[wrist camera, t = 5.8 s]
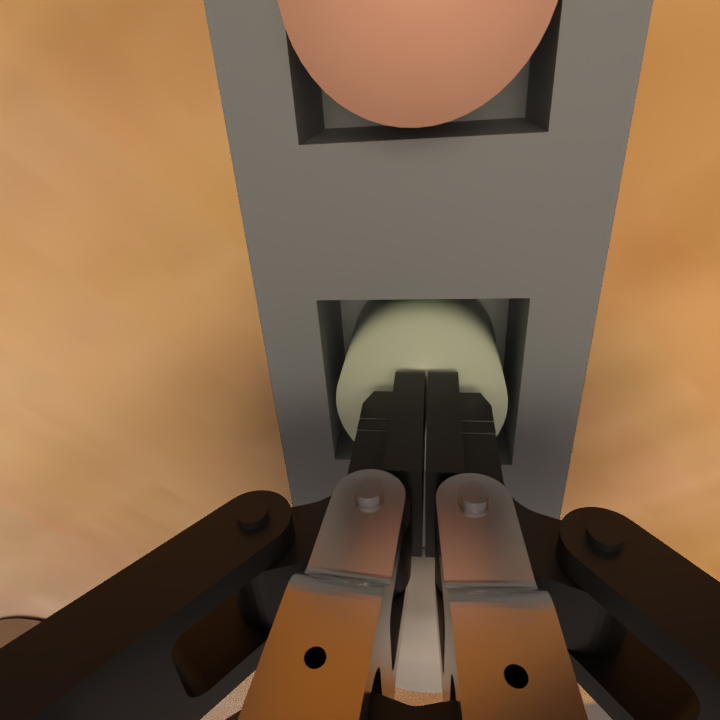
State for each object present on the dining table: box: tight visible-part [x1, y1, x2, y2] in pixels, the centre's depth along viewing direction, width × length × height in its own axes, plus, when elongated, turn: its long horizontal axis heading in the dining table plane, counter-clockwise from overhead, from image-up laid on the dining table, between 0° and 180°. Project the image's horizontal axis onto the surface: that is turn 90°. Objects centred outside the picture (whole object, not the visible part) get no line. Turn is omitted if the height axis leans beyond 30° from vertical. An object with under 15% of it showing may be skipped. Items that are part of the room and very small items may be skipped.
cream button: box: [395, 547, 442, 693], centre depth 17 cm, size 4×4×3 cm
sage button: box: [336, 299, 508, 470], centre depth 14 cm, size 4×4×3 cm
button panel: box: [204, 0, 653, 547], centre depth 15 cm, size 25×8×4 cm, turn 3°
